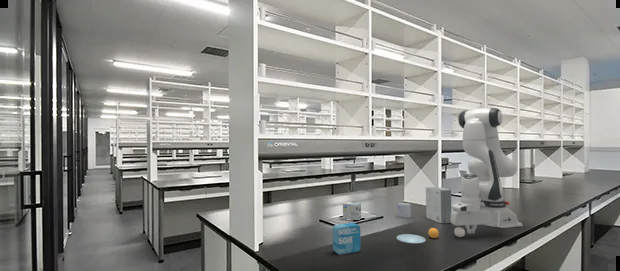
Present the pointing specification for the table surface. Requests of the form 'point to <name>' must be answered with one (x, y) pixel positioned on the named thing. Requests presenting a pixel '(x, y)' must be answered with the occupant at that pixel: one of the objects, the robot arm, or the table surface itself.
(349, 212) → the light bulb box
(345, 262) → the table surface
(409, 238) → the blue mark
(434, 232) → the orange ball
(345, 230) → the data package
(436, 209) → the hard drive box
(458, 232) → the white ball
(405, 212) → the medicine box
